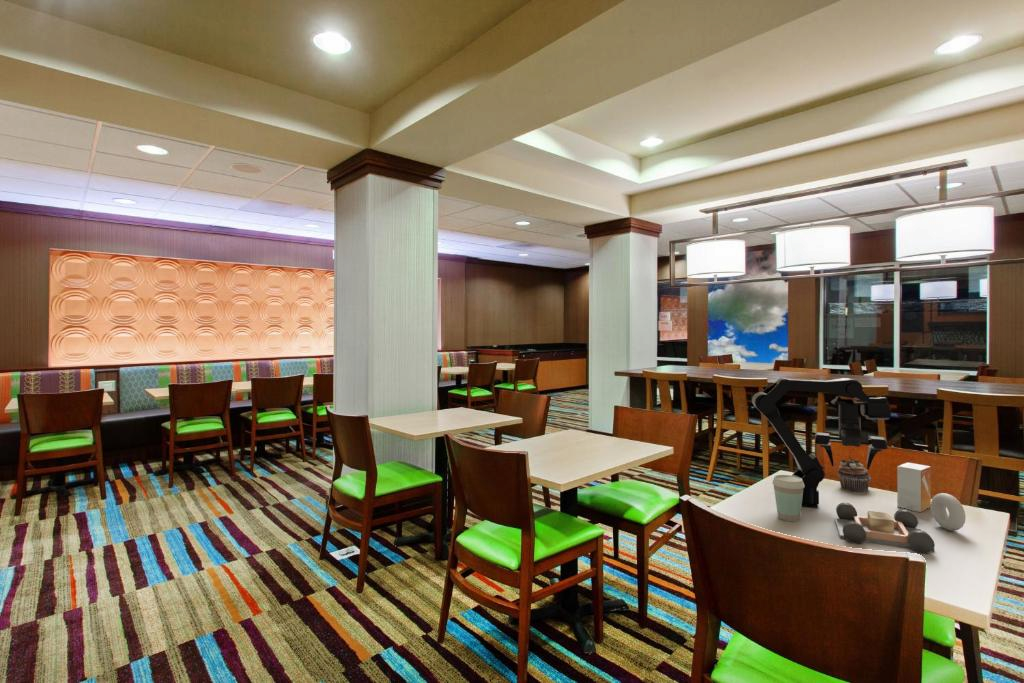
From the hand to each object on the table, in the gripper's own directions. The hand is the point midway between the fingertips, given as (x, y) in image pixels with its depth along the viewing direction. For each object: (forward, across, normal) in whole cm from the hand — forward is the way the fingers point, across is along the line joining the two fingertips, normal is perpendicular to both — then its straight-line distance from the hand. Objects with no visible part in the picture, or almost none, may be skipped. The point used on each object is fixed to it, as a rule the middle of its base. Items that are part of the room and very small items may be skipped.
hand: (849, 467), depth 160 cm
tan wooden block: (+12, +6, -22) cm, 26 cm away
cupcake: (+13, +2, +23) cm, 26 cm away
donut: (+13, +22, -9) cm, 27 cm away
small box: (+13, +17, +8) cm, 23 cm away
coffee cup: (+13, -16, -19) cm, 28 cm away
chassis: (+12, +6, -22) cm, 26 cm away
